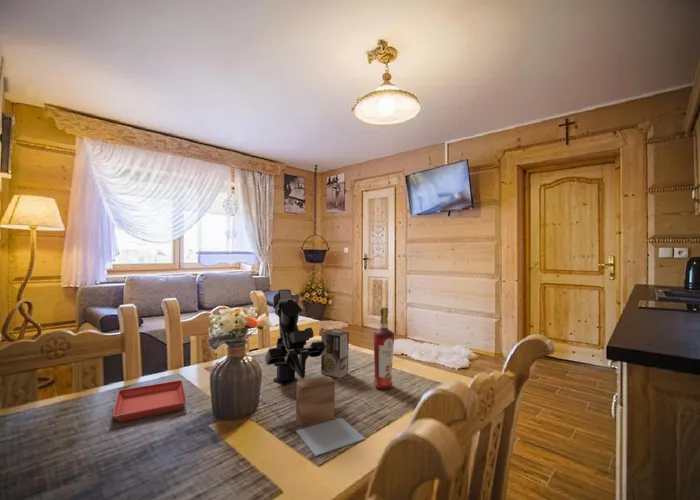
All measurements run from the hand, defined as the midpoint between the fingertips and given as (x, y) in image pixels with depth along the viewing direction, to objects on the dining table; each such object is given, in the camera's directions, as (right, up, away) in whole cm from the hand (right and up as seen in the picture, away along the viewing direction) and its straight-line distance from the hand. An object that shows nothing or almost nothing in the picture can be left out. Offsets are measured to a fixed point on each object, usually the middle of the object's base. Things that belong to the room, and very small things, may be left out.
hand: (303, 377), depth 101 cm
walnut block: (+4, -9, -7) cm, 13 cm away
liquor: (+26, -10, +16) cm, 32 cm away
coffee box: (+8, -9, +28) cm, 31 cm away
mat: (+9, -9, -15) cm, 20 cm away
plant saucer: (-46, -9, 0) cm, 47 cm away
